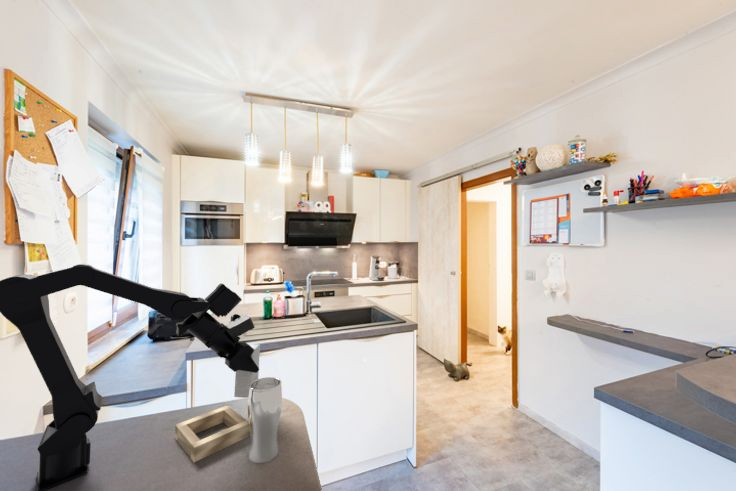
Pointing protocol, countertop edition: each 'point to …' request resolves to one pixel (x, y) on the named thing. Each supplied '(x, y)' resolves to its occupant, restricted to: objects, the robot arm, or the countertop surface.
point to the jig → (215, 442)
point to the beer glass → (264, 418)
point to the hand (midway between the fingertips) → (252, 366)
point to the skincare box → (246, 375)
